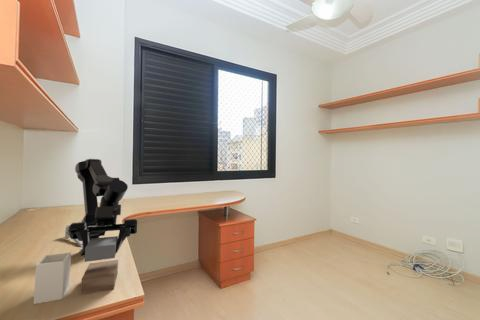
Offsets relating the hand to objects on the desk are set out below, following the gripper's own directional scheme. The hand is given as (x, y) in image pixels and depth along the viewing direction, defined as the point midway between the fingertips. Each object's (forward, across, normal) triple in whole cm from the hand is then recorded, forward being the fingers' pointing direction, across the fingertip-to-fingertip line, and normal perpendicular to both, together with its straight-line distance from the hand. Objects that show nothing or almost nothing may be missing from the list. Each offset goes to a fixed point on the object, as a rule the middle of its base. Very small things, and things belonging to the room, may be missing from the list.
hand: (101, 254), depth 65 cm
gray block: (0, 0, +1) cm, 1 cm away
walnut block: (+6, 0, +8) cm, 9 cm away
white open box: (+7, -11, +6) cm, 14 cm away
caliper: (-26, -17, +40) cm, 50 cm away
